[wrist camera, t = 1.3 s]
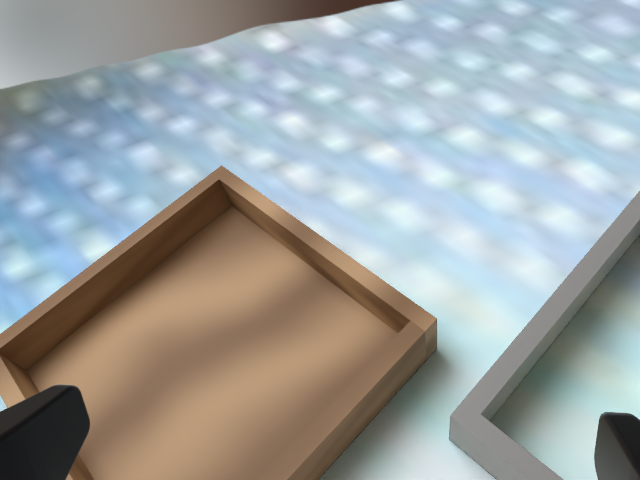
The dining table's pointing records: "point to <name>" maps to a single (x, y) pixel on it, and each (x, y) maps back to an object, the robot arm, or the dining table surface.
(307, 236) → the walnut tray
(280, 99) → the dining table surface
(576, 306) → the gray bin
